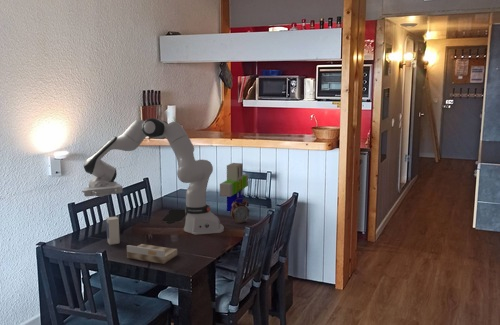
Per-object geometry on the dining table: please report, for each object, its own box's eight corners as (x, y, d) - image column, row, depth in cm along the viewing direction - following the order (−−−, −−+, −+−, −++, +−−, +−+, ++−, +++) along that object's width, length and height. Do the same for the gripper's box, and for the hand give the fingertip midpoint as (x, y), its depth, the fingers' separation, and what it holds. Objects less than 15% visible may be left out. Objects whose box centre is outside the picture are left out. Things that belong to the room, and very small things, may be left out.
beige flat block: (177, 255, 227) (176, 243, 226) (163, 264, 216) (163, 251, 215) (141, 249, 234) (141, 238, 233) (126, 258, 223) (126, 246, 222)
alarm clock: (233, 225, 276) (233, 199, 273) (229, 222, 280) (229, 198, 277) (250, 222, 280) (250, 198, 278) (246, 220, 284) (246, 196, 282)
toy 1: (189, 210, 307) (177, 223, 278) (189, 210, 307) (177, 224, 278) (170, 209, 308) (157, 222, 279) (170, 210, 309) (157, 223, 279)
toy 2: (230, 217, 291) (230, 169, 287) (220, 216, 294) (219, 168, 289) (248, 204, 323) (248, 160, 318) (238, 203, 325) (238, 160, 321)
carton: (117, 240, 248) (116, 216, 246) (119, 243, 244) (118, 218, 242) (107, 241, 246) (105, 217, 243) (109, 244, 241) (107, 220, 239)
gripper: (80, 184, 258) (85, 189, 246) (118, 181, 268) (125, 185, 256) (81, 195, 259) (86, 201, 247) (119, 192, 269) (125, 197, 257)
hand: (106, 193), depth 251 cm, fingers open, 8 cm apart
